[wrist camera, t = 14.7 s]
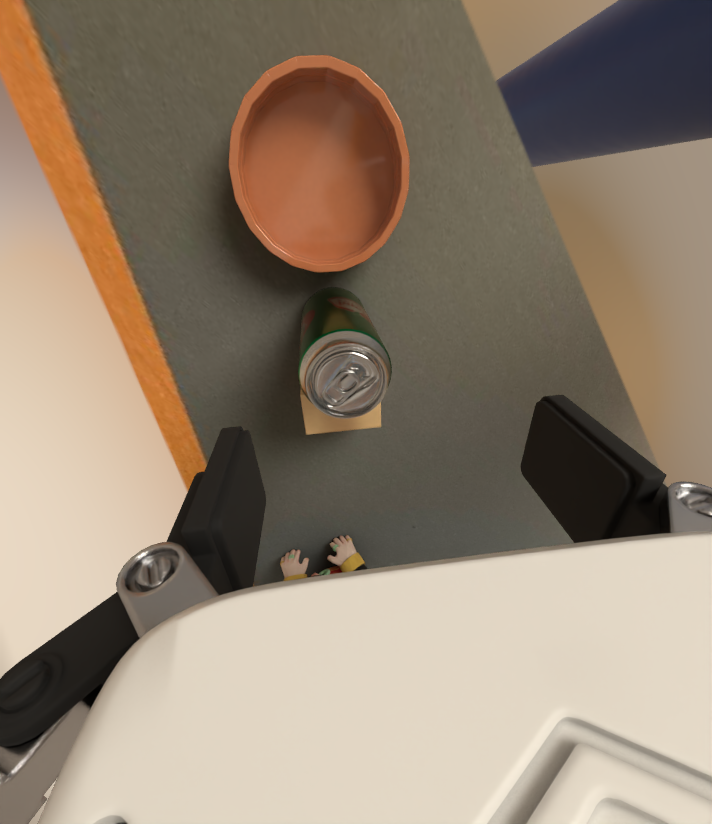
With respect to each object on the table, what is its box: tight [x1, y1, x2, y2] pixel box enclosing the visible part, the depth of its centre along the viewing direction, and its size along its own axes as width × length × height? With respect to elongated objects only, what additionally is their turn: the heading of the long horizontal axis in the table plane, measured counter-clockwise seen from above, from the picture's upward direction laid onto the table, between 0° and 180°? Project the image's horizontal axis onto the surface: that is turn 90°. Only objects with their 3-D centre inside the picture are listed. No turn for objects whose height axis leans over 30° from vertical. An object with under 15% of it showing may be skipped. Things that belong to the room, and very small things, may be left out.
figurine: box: [280, 535, 367, 581], centre depth 39 cm, size 10×10×15 cm
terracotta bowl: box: [229, 55, 409, 273], centre depth 22 cm, size 11×11×3 cm
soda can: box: [298, 287, 392, 419], centre depth 23 cm, size 5×5×12 cm
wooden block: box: [300, 389, 381, 435], centre depth 29 cm, size 6×4×5 cm, turn 93°
